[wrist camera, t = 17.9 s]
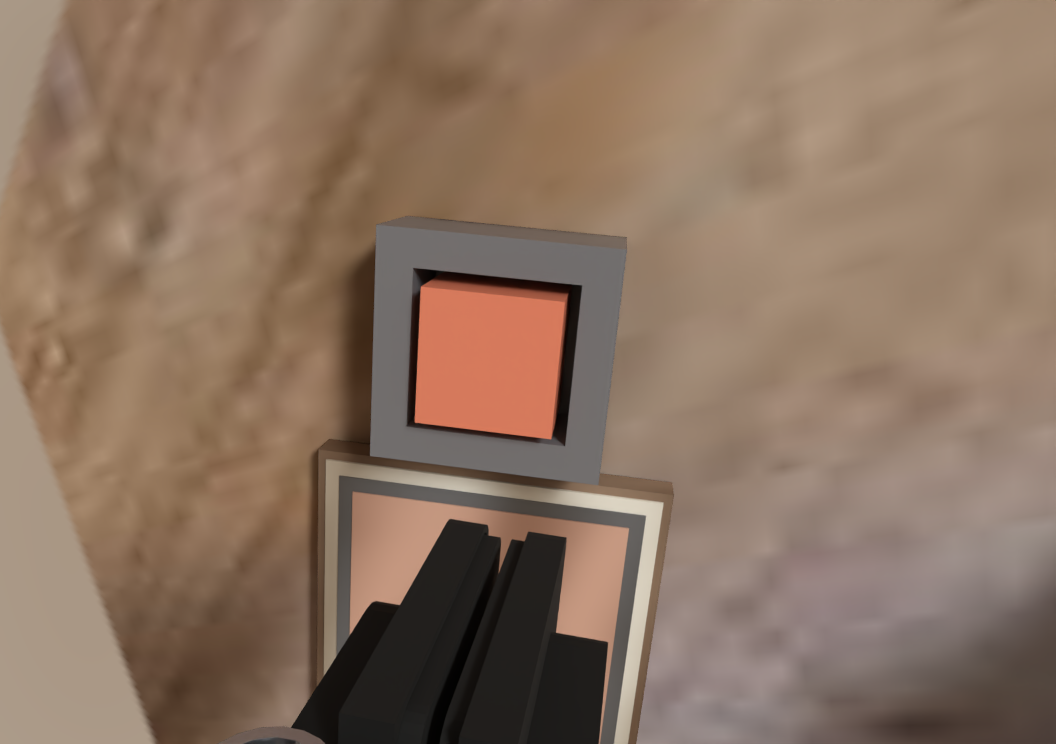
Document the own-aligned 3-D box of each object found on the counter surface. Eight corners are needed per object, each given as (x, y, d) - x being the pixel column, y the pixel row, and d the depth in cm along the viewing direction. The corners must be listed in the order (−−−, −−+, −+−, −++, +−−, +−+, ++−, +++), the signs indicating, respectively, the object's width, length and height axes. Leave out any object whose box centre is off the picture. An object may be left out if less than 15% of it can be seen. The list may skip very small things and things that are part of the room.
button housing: (626, 237, 24) (626, 249, 21) (601, 446, 26) (598, 485, 23) (407, 215, 24) (376, 224, 21) (399, 421, 26) (369, 455, 23)
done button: (572, 282, 24) (564, 301, 21) (560, 404, 25) (551, 439, 22) (446, 270, 24) (420, 286, 21) (440, 390, 25) (414, 422, 22)
